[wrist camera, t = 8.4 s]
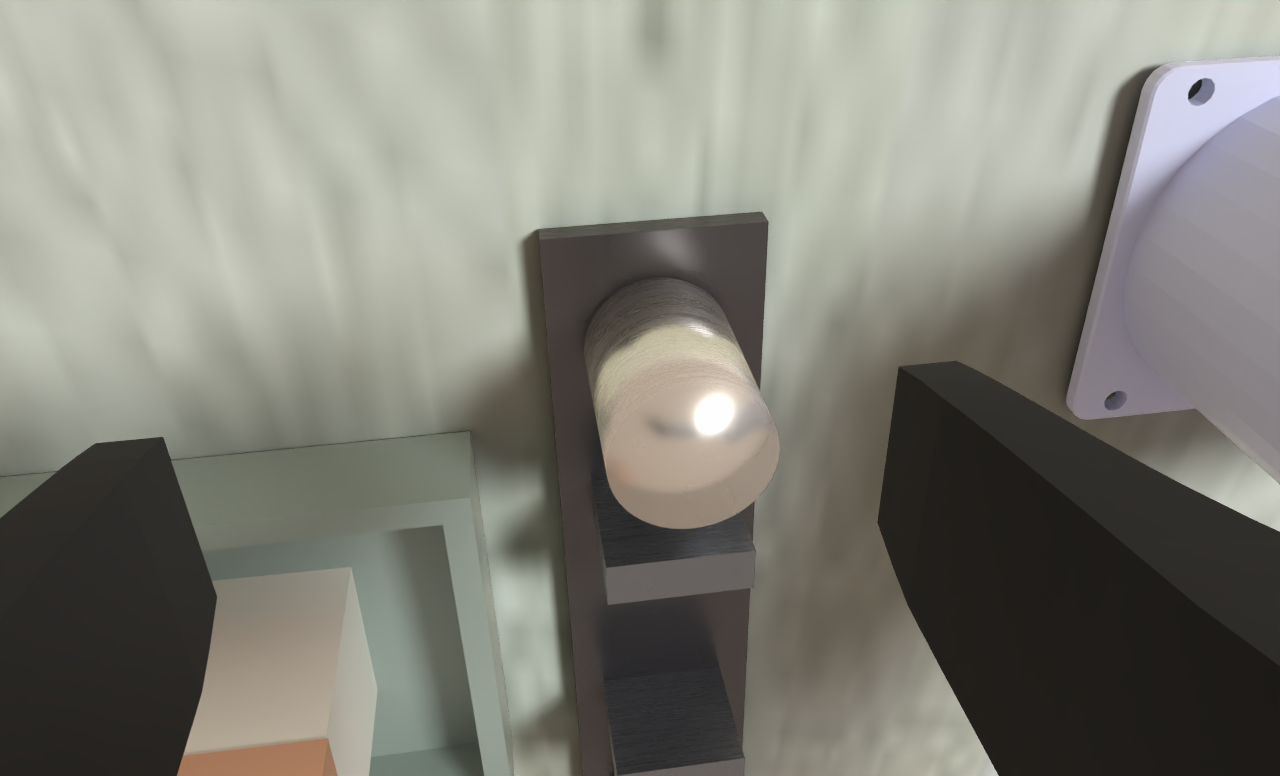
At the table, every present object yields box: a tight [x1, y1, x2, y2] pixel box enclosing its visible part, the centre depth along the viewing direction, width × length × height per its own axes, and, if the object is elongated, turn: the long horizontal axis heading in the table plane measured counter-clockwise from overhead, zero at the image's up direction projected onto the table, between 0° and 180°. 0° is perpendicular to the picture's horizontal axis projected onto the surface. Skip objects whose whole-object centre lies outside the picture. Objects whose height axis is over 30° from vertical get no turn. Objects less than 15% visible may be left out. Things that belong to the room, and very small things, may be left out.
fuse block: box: [538, 212, 780, 776], centre depth 23 cm, size 4×19×4 cm, turn 2°
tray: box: [0, 431, 514, 776], centre depth 23 cm, size 10×10×2 cm
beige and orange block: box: [177, 567, 377, 776], centre depth 21 cm, size 4×4×6 cm
